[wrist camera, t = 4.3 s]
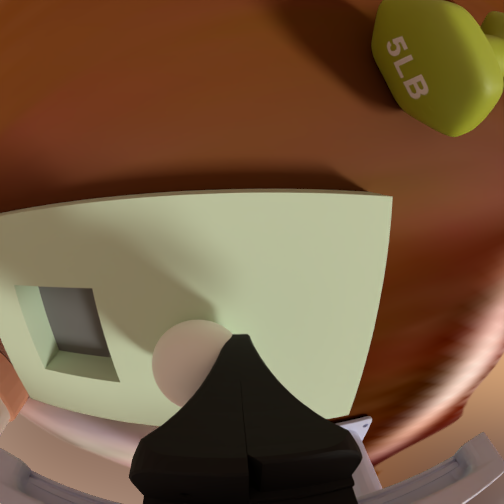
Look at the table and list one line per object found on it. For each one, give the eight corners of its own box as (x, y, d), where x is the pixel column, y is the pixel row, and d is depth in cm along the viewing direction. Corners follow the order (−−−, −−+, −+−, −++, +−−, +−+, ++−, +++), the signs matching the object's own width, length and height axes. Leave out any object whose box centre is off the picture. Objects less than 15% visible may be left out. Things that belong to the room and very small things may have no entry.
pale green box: (337, 391, 18) (386, 502, 8) (43, 380, 16) (-7, 461, 6) (368, 191, 14) (529, 237, 4) (-8, 214, 12) (-113, 258, 2)
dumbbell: (400, 145, 13) (497, 143, 6) (340, 25, 11) (401, -39, 4) (513, 103, 12) (570, 102, 5) (477, 23, 10) (529, 6, 3)
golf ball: (252, 427, 10) (155, 429, 9) (234, 372, 13) (158, 373, 12) (263, 351, 9) (142, 351, 8) (240, 304, 13) (153, 302, 12)
